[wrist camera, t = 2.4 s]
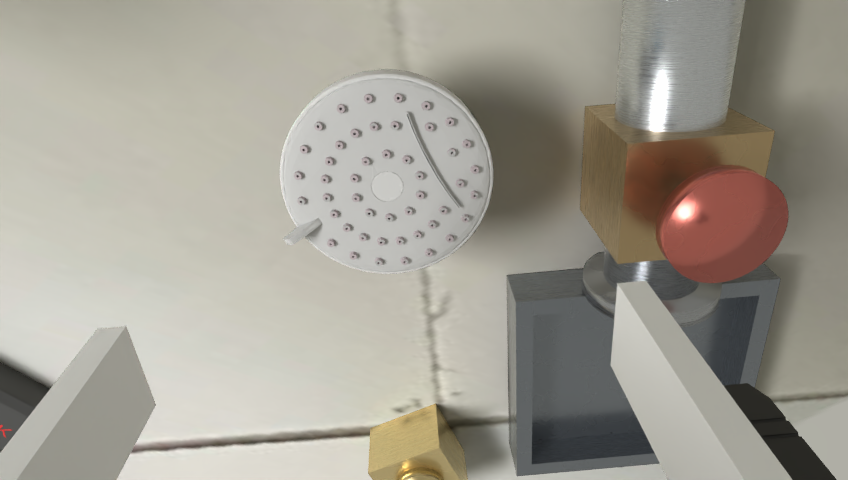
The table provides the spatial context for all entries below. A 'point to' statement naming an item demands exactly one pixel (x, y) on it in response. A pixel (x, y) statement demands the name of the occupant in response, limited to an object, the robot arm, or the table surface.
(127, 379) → the robot arm
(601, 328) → the metal assembly
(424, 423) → the brass block
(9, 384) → the usb drive
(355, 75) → the showerhead
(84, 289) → the table surface
